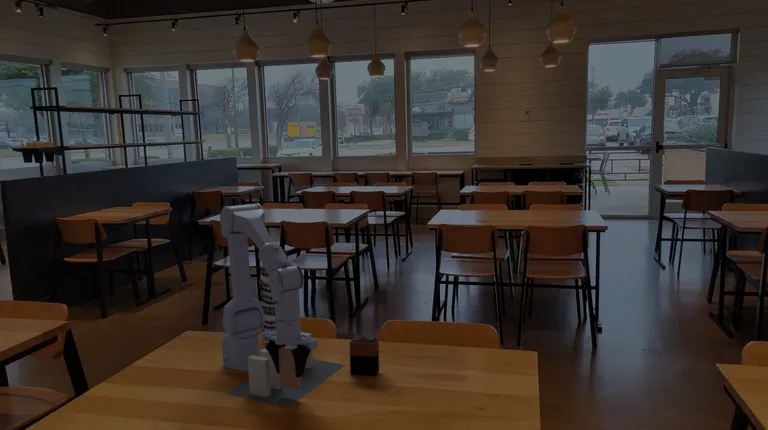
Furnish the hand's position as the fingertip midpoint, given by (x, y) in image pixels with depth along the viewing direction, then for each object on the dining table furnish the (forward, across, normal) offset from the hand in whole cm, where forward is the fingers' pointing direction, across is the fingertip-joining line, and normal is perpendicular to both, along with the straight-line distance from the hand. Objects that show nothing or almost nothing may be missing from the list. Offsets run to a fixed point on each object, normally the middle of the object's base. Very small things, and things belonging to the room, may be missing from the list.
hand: (290, 373), depth 131 cm
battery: (+6, +10, +19) cm, 22 cm away
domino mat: (+6, -6, +8) cm, 12 cm away
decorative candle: (+6, -26, +30) cm, 40 cm away
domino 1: (+6, -7, -2) cm, 9 cm away
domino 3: (+6, -7, +12) cm, 15 cm away
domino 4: (+3, 0, 0) cm, 3 cm away
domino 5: (+6, -7, +16) cm, 19 cm away
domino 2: (+6, -7, +2) cm, 10 cm away
